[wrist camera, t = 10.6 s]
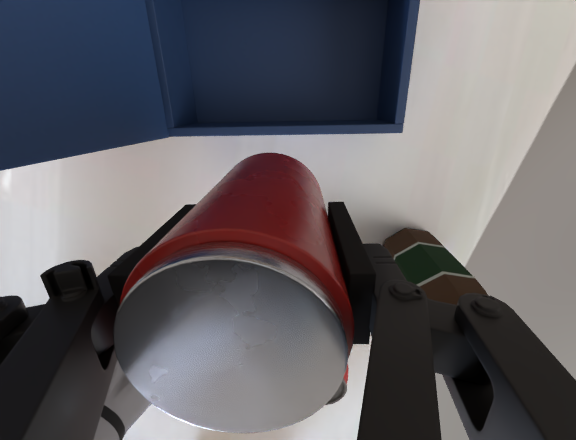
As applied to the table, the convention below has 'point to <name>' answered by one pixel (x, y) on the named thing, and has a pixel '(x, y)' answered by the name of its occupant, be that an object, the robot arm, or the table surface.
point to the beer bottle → (431, 266)
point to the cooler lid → (75, 79)
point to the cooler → (283, 65)
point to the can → (241, 305)
